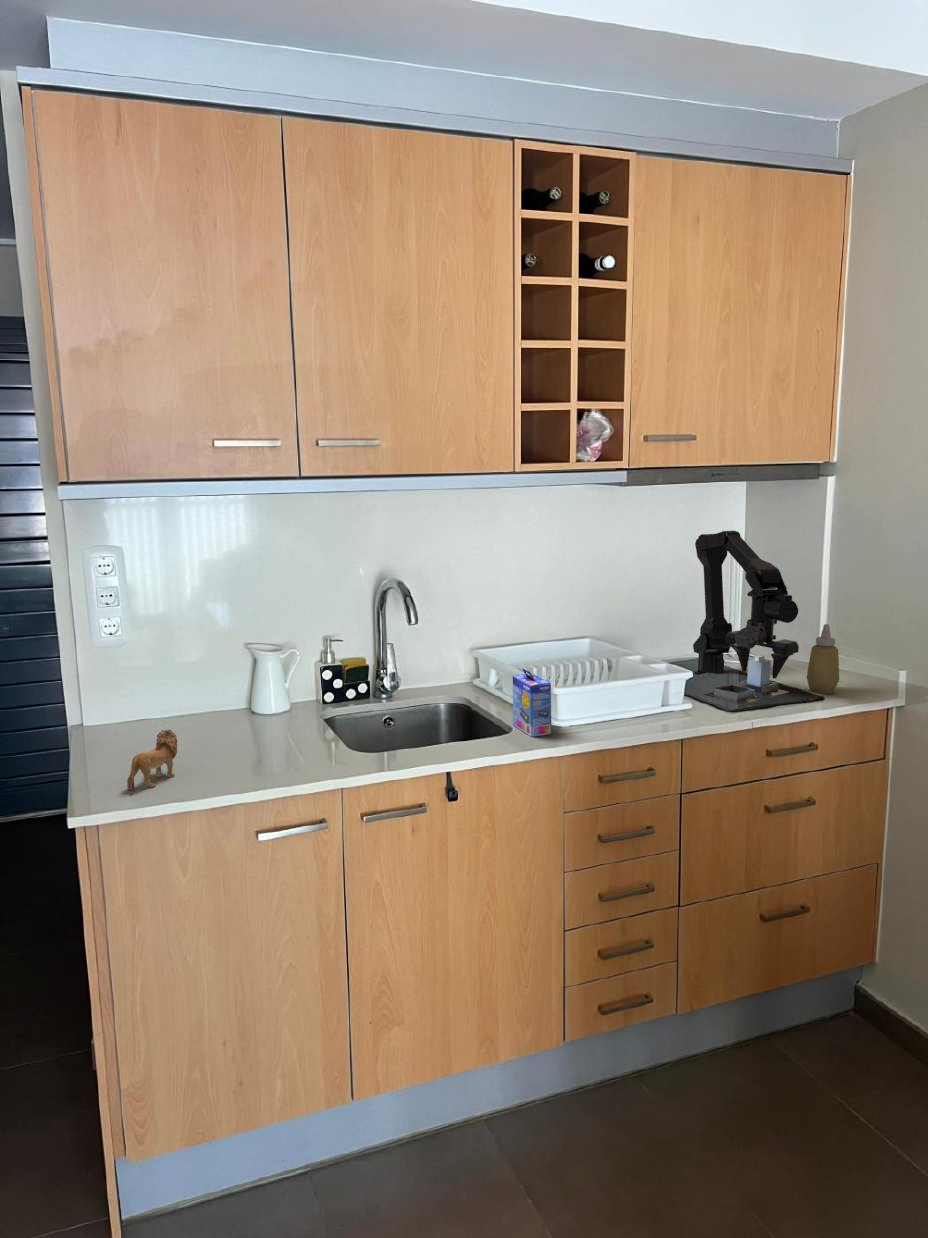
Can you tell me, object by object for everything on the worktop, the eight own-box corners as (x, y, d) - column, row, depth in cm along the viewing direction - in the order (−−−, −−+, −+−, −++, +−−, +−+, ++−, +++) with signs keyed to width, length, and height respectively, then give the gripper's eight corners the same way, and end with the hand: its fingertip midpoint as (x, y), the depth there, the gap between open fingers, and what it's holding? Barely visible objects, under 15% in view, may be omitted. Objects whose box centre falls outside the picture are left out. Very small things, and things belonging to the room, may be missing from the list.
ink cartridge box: (511, 725, 220) (511, 665, 217) (532, 722, 222) (532, 662, 219) (530, 737, 211) (531, 675, 208) (552, 734, 213) (553, 672, 210)
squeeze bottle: (798, 689, 249) (803, 623, 246) (821, 686, 253) (826, 620, 249) (822, 697, 242) (826, 628, 239) (845, 693, 246) (850, 626, 242)
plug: (746, 689, 246) (748, 656, 244) (756, 687, 248) (757, 654, 247) (759, 692, 243) (761, 659, 241) (769, 690, 245) (771, 656, 243)
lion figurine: (162, 767, 192) (159, 725, 191) (185, 770, 191) (183, 727, 189) (120, 794, 178) (116, 748, 177) (145, 796, 177) (142, 750, 175)
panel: (702, 698, 241) (702, 687, 241) (750, 686, 253) (750, 675, 253) (741, 709, 232) (741, 697, 231) (789, 695, 244) (790, 684, 243)
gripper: (713, 614, 244) (710, 672, 247) (775, 625, 230) (771, 687, 233) (739, 609, 251) (736, 666, 254) (801, 619, 236) (797, 680, 239)
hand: (759, 674), depth 245 cm, fingers open, 9 cm apart
